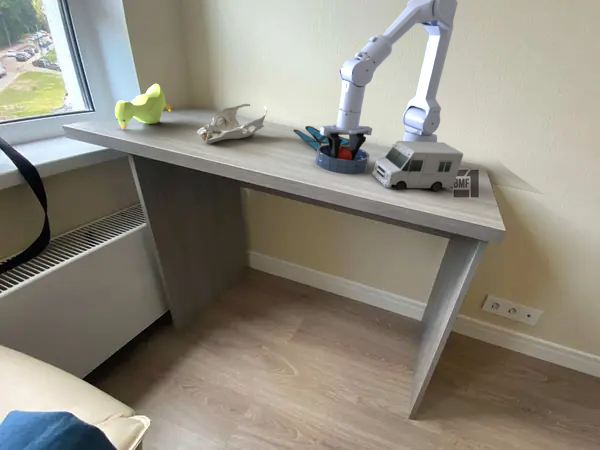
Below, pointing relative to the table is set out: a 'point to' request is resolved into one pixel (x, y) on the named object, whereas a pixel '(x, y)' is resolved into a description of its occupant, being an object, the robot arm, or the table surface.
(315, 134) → the decorative butterfly
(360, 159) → the bowl
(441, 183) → the toy truck
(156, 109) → the toy
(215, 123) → the anatomical model
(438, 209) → the table surface
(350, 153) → the tomato
